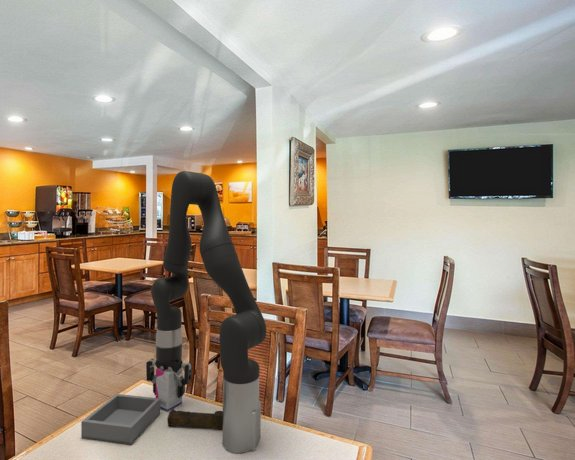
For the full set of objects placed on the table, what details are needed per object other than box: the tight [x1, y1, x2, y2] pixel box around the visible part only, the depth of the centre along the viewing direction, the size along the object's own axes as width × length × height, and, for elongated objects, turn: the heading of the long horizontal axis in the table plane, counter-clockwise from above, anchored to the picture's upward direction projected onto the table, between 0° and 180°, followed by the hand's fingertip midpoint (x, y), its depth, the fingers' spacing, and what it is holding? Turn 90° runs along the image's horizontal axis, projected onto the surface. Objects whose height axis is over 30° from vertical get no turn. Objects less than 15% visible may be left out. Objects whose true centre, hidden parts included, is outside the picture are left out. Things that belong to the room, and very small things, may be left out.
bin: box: [80, 393, 161, 446], centre depth 94 cm, size 14×14×4 cm
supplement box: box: [155, 367, 184, 412], centre depth 104 cm, size 6×6×12 cm
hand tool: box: [166, 408, 223, 431], centre depth 94 cm, size 19×4×5 cm, turn 82°
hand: (168, 395), depth 104 cm, fingers closed on supplement box, 7 cm apart
